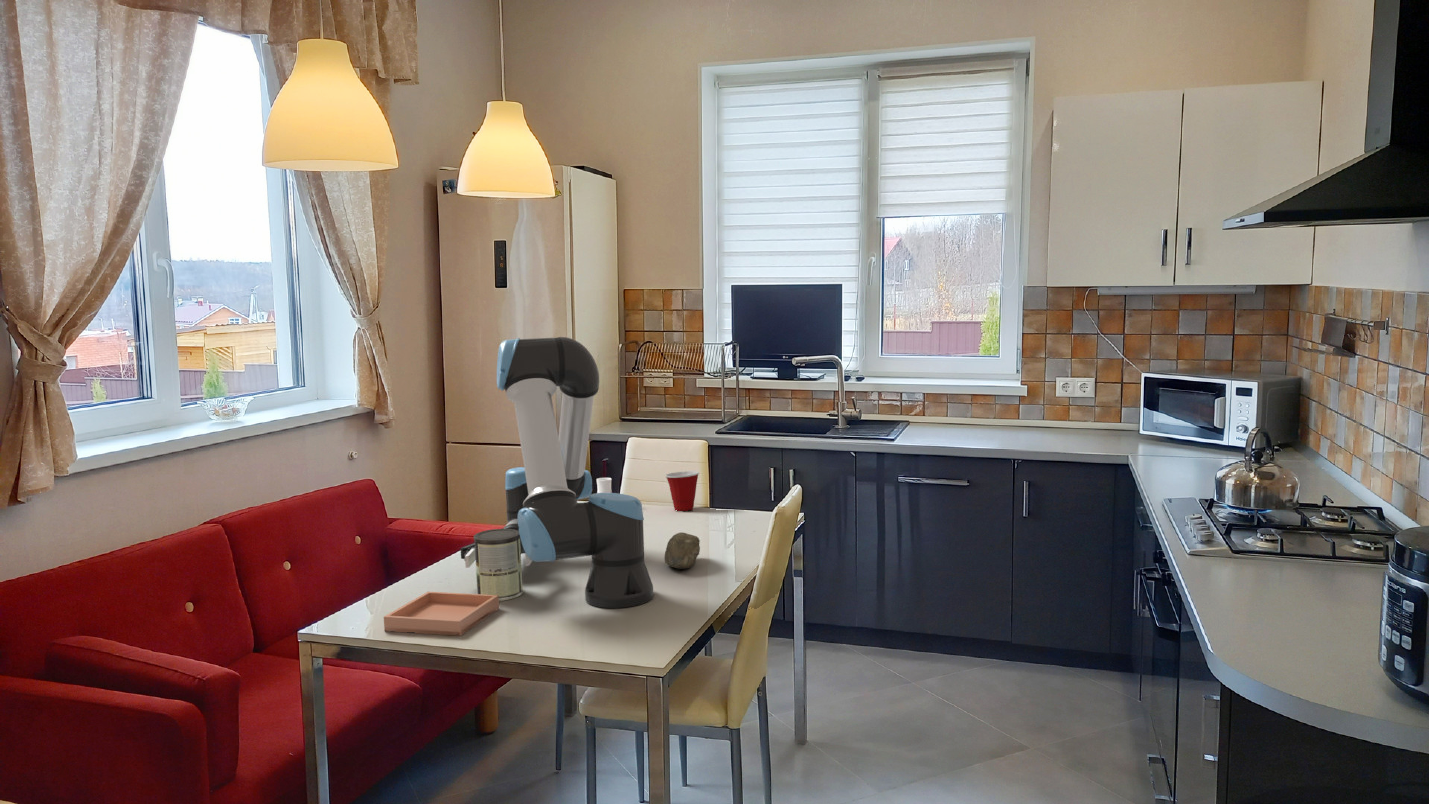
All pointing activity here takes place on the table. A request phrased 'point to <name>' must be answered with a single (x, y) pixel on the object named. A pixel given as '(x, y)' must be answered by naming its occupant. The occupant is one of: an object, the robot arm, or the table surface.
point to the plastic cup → (683, 489)
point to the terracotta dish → (442, 613)
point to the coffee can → (498, 563)
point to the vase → (604, 485)
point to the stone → (682, 550)
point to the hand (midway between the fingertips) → (497, 561)
